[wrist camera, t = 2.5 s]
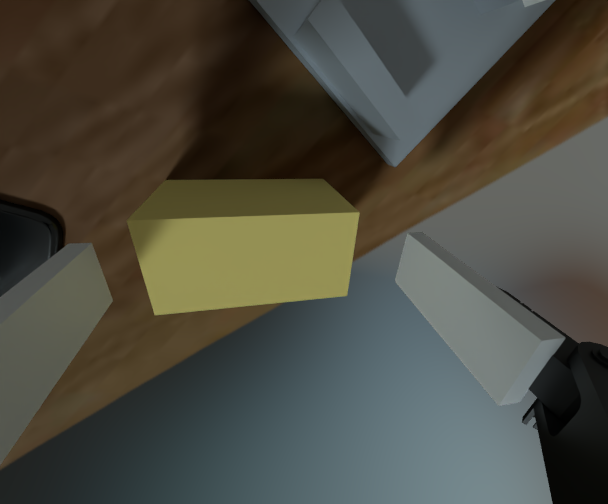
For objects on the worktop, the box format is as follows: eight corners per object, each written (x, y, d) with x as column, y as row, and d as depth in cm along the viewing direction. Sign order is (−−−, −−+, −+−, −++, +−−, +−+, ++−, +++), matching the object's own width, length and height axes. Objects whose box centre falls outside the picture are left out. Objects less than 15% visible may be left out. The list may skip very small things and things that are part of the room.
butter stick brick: (180, 250, 17) (154, 315, 12) (166, 179, 15) (126, 220, 10) (317, 242, 19) (346, 295, 14) (322, 178, 17) (359, 212, 11)
